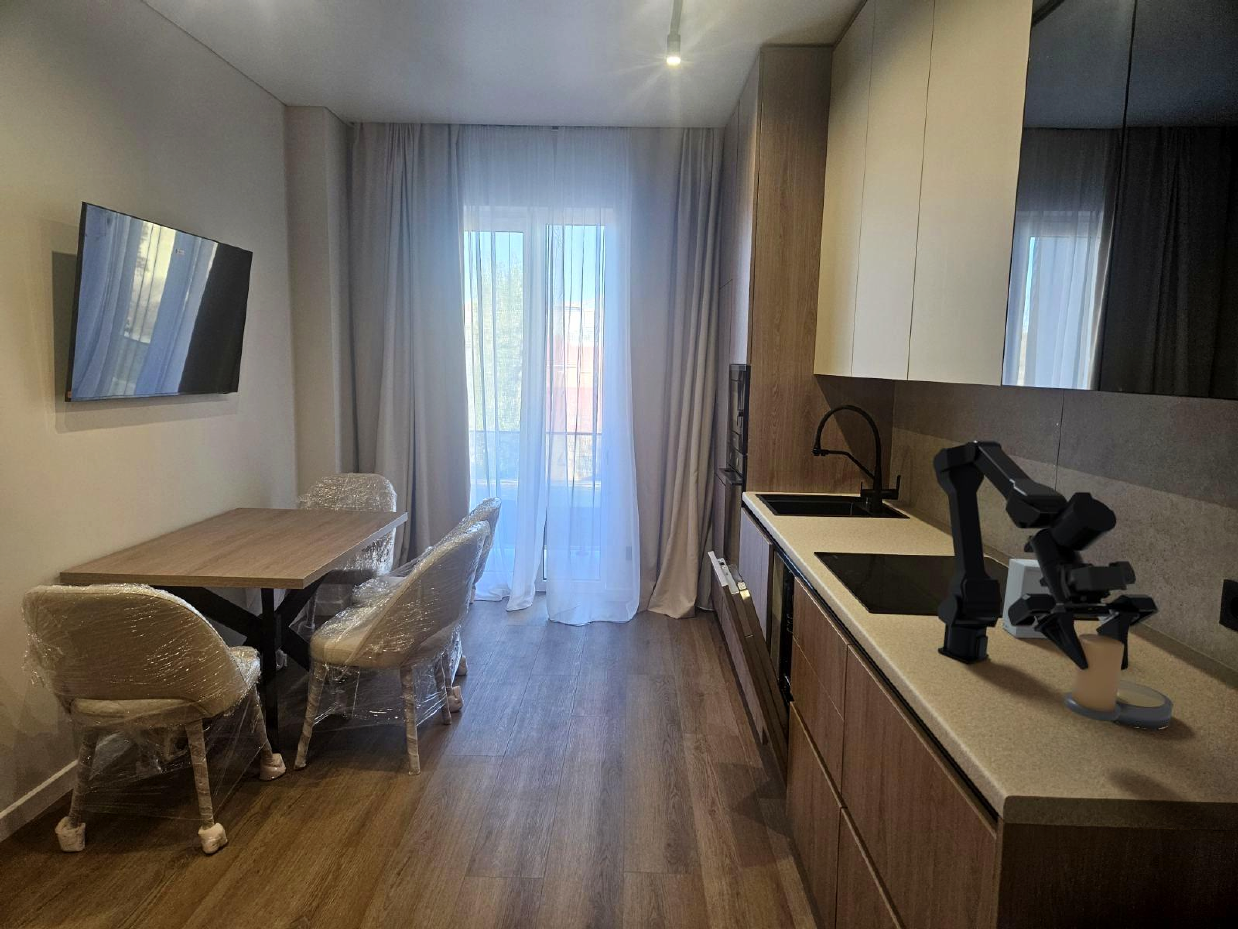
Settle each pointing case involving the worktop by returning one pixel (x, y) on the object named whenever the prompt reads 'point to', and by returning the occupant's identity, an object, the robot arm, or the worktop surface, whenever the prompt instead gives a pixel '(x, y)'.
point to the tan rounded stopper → (1097, 679)
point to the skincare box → (1022, 593)
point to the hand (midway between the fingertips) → (1105, 669)
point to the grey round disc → (1142, 706)
